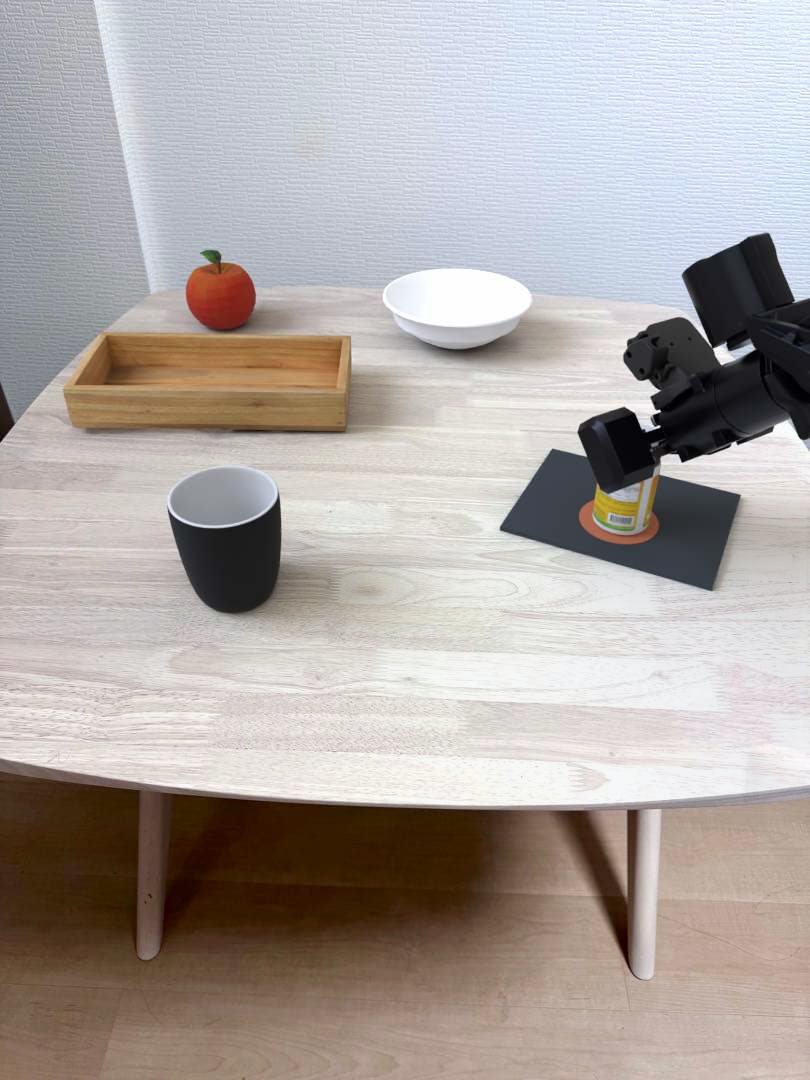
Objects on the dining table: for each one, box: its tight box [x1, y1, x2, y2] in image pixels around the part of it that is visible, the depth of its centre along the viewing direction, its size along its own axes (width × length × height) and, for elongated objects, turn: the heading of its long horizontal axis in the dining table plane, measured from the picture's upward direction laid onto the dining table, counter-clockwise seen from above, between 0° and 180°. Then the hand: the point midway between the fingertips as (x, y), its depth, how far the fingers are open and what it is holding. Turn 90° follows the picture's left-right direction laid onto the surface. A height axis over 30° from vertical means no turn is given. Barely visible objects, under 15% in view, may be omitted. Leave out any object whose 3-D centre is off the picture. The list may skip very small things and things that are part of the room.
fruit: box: [185, 249, 257, 331], centre depth 116 cm, size 10×10×10 cm
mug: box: [166, 464, 282, 614], centre depth 72 cm, size 12×9×10 cm
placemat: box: [499, 448, 742, 592], centre depth 84 cm, size 20×16×1 cm
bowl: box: [382, 267, 533, 350], centre depth 114 cm, size 20×20×6 cm
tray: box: [62, 331, 352, 432], centre depth 100 cm, size 31×15×6 cm, turn 91°
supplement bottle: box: [593, 422, 662, 535], centre depth 79 cm, size 5×5×10 cm
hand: (621, 455), depth 79 cm, fingers closed on supplement bottle, 5 cm apart
